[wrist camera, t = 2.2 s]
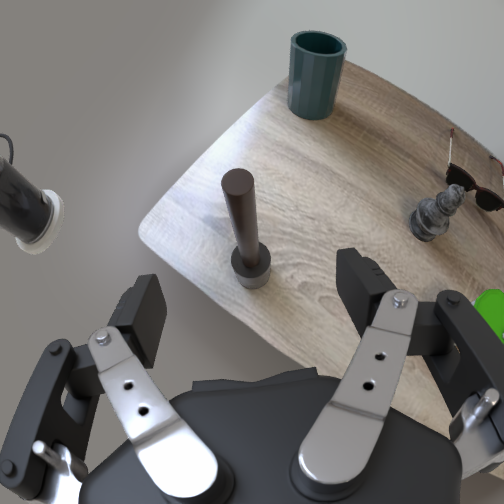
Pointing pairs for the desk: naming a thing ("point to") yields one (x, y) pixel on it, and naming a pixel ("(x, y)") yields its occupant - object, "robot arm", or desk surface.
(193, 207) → the desk surface
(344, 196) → the desk surface
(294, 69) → the pencil holder
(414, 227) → the chess piece
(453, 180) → the sunglasses
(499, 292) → the cup
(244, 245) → the brush
